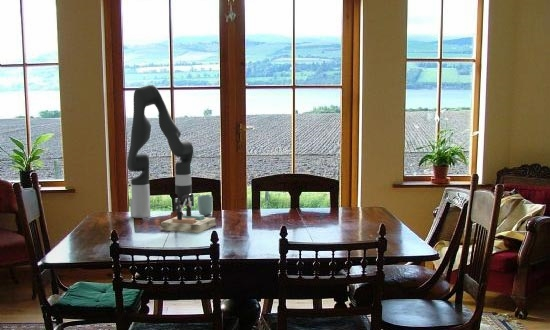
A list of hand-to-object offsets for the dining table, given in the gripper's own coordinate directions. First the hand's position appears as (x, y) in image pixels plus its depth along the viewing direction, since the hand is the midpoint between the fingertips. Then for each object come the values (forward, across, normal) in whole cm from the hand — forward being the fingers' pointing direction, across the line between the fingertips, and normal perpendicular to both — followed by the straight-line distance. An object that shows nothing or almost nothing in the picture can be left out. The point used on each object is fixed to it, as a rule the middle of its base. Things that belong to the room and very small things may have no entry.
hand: (184, 217), depth 257 cm
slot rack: (+5, +4, 0) cm, 7 cm away
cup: (+6, +34, +7) cm, 35 cm away
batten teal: (+4, +8, 0) cm, 10 cm away
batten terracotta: (+4, 0, 0) cm, 4 cm away
